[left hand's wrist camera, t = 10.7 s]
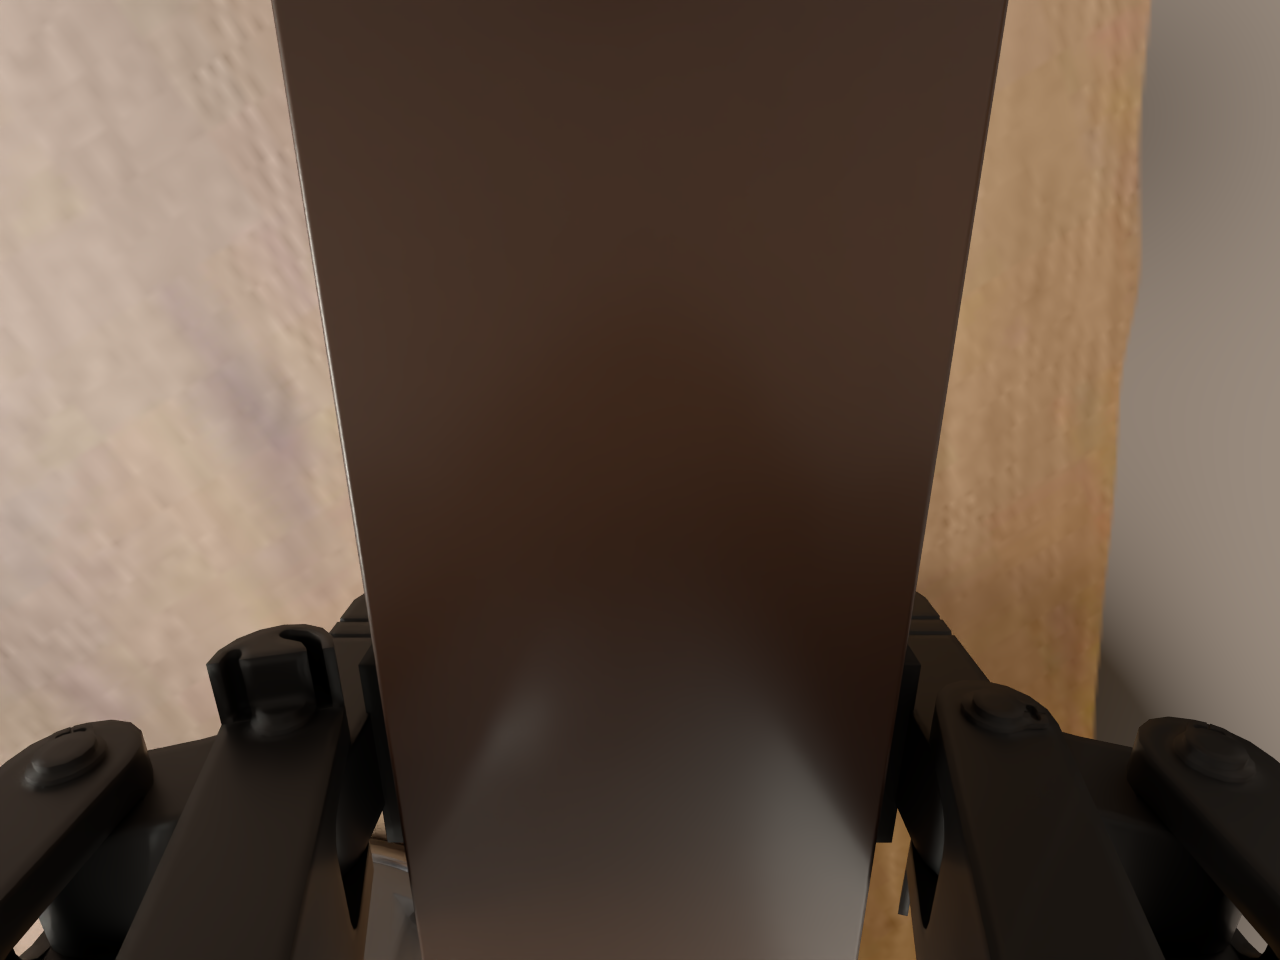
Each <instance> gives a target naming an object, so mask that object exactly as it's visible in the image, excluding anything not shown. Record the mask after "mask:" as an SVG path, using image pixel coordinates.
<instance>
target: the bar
mask: <svg viewBox="0 0 1280 960" xmlns="http://www.w3.org/2000/svg"><path fill="white" fill-rule="evenodd" d="M271 2H272V9H273V15H274V21H275V28H276V34H277V40H278V47H279V53H280V59H281V66H282V72H283V79H284V85H285V91H286V98H287V104H288V110H289V117H290V123H291V129H292V136H293V142H294V149H295V155H296V161H297V168H298V174H299V180H300V187H301V193H302V199H303V206H304V212H305V219H306V225H307V231H308V238H309V244H310V250H311V257H312V263H313V269H314V276H315V282H316V288H317V295H318V301H319V308H320V314H321V320H322V327H323V333H324V339H325V346H326V352H327V358H328V365H329V371H330V378H331V384H332V390H333V397H334V403H335V409H336V416H337V422H338V428H339V435H340V441H341V448H342V454H343V460H344V467H345V473H346V479H347V486H348V492H349V498H350V505H351V511H352V518H353V524H354V530H355V537H356V543H357V549H358V556H359V562H360V568H361V575H362V581H363V588H364V594H365V600H366V607H367V613H368V619H369V626H370V632H371V638H372V645H373V651H374V658H375V664H376V670H377V677H378V683H379V689H380V696H381V702H382V708H383V715H384V721H385V727H386V734H387V740H388V747H389V753H390V759H391V766H392V772H393V778H394V785H395V791H396V797H397V804H398V810H399V817H400V823H401V829H402V836H403V842H404V848H405V855H406V861H407V867H408V874H409V880H410V887H411V893H412V899H413V906H414V912H415V918H416V925H417V931H418V937H419V944H420V950H421V957H422V960H858V954H859V948H860V941H861V935H862V928H863V922H864V916H865V909H866V903H867V897H868V890H869V884H870V878H871V871H872V865H873V858H874V852H875V846H876V839H877V833H878V827H879V820H880V814H881V808H882V801H883V795H884V788H885V782H886V776H887V769H888V763H889V757H890V750H891V744H892V738H893V731H894V725H895V718H896V712H897V706H898V699H899V693H900V687H901V680H902V674H903V668H904V661H905V655H906V648H907V642H908V636H909V629H910V623H911V617H912V610H913V604H914V598H915V591H916V585H917V578H918V572H919V566H920V559H921V553H922V547H923V540H924V534H925V528H926V521H927V515H928V508H929V502H930V496H931V489H932V483H933V477H934V470H935V464H936V458H937V451H938V445H939V438H940V432H941V426H942V419H943V413H944V407H945V400H946V394H947V388H948V381H949V375H950V368H951V362H952V356H953V349H954V343H955V337H956V330H957V324H958V318H959V311H960V305H961V298H962V292H963V286H964V279H965V273H966V267H967V260H968V254H969V248H970V241H971V235H972V228H973V222H974V216H975V209H976V203H977V197H978V190H979V184H980V178H981V171H982V165H983V158H984V152H985V146H986V139H987V133H988V127H989V120H990V114H991V108H992V101H993V95H994V88H995V82H996V76H997V69H998V63H999V57H1000V50H1001V44H1002V38H1003V31H1004V25H1005V18H1006V12H1007V6H1008V0H271Z"/></svg>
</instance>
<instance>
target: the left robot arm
mask: <svg viewBox="0 0 1280 960" xmlns="http://www.w3.org/2000/svg"><path fill="white" fill-rule="evenodd" d="M206 666H207V670H208V674H209V677H210V681H211V685H212V689H213V693H214V697H215V701H216V705H217V708H218V712H219V716H220V720H221V724H222V726H221V728H220V730H219V732H218V734H217V735H216V736H212V737H208V738H205V739H201V740H196V741H191V742H186V743H182V744H177V745H172V746H167V747H163V748H158V749H153V750H148V751H147V748H146V744H145V741H144V738H143V735H142V731H141V730H140V729H138V728H137V727H136V726H135V725H133V724H132V723H131V722H124V721H117V720H106V721H98V722H90V723H85V724H80V725H76V726H74V727H72V728H70V727H69V728H66V729H63V730H61V731H58V732H56V733H54V734H52V735H50V736H48V737H46V738H44V739H42V740H40V741H38V742H36V743H34V744H32V745H30V746H28V747H27V748H26V749H24V750H23V751H21V752H20V753H18V754H17V755H16V756H14V757H13V758H11V759H10V760H8V761H7V762H6V763H5V764H3V765H2V766H1V767H0V960H422V957H421V950H420V944H419V937H418V931H417V925H416V918H415V912H414V906H413V899H412V893H411V887H410V880H409V874H408V867H407V861H406V855H405V848H404V846H403V845H400V844H396V843H404V842H403V836H402V829H401V823H400V817H399V810H398V804H397V797H396V791H395V785H394V778H393V772H392V766H391V759H390V753H389V747H388V740H387V734H386V727H385V721H384V715H383V708H382V702H381V696H380V689H379V683H378V677H377V670H376V664H375V658H374V651H373V645H372V638H371V632H370V626H369V619H368V613H367V607H366V600H365V594H363V595H361V596H360V597H358V598H356V599H355V600H354V601H353V602H352V604H351V605H350V606H349V608H348V609H347V610H346V612H345V613H344V614H343V615H342V617H341V618H340V622H337V623H336V625H335V626H334V627H333V629H332V630H331V631H330V633H328V632H327V631H326V630H324V629H323V628H320V627H316V626H312V625H307V624H295V625H281V626H276V627H271V628H267V629H262V630H259V631H256V632H253V633H251V634H248V635H246V636H243V637H241V638H238V639H236V640H235V641H233V642H231V643H230V644H228V645H227V646H225V647H223V648H222V649H220V650H219V651H218V652H217V653H216V654H215V655H214V656H213V657H212V658H211V659H210V661H209V662H208V663H207V664H206ZM897 808H898V810H899V812H900V815H901V817H902V819H903V821H904V824H905V826H906V828H907V830H908V833H909V835H910V837H911V842H910V847H909V853H908V858H907V864H906V869H905V875H904V880H903V886H902V892H901V897H900V904H899V911H898V914H901V915H905V916H908V910H909V905H910V907H911V916H912V925H913V933H914V942H915V951H916V959H917V960H1280V763H1279V762H1278V761H1277V760H1275V759H1274V758H1273V757H1271V756H1270V755H1268V754H1267V753H1266V752H1264V751H1263V750H1261V749H1260V748H1258V747H1257V746H1255V745H1254V744H1253V743H1251V742H1249V741H1247V740H1245V739H1243V738H1241V737H1239V736H1237V735H1235V734H1233V733H1231V732H1229V731H1227V730H1225V729H1223V728H1221V727H1218V726H1215V725H1212V724H1210V725H1209V724H1207V723H1206V722H1201V721H1197V720H1191V719H1184V718H1176V717H1163V718H1155V719H1149V720H1148V721H1147V722H1146V723H1144V724H1143V725H1142V726H1140V727H1139V730H1138V733H1137V736H1136V739H1135V742H1134V746H1133V748H1132V747H1127V746H1122V745H1118V744H1113V743H1108V742H1103V741H1098V740H1094V739H1089V738H1084V737H1079V736H1075V735H1072V734H1068V733H1064V732H1062V731H1061V729H1060V727H1059V724H1058V723H1057V722H1056V720H1055V719H1054V718H1053V716H1052V715H1051V714H1050V712H1049V711H1048V710H1047V709H1046V708H1045V707H1043V706H1042V705H1041V704H1039V703H1038V702H1037V701H1035V700H1034V699H1032V698H1031V697H1030V696H1028V695H1025V694H1023V693H1021V692H1019V691H1017V690H1014V689H1012V688H1010V687H1008V686H1004V685H1000V684H996V683H992V682H990V681H989V680H988V679H987V677H986V676H985V675H984V673H983V672H982V671H981V669H980V668H979V667H978V665H977V664H976V663H975V662H974V660H973V659H972V658H971V656H970V655H969V654H968V652H967V651H966V650H965V649H964V647H963V646H962V645H961V643H960V642H959V641H958V639H957V638H956V637H955V635H952V634H951V630H950V629H949V628H948V626H947V625H946V624H945V622H944V621H943V620H940V616H939V615H938V613H937V612H936V611H935V609H934V608H933V607H932V605H931V604H930V603H929V601H928V600H927V599H926V598H925V597H924V596H922V595H921V594H919V593H918V592H916V591H915V598H914V604H913V610H912V617H911V623H910V629H909V636H908V642H907V648H906V655H905V661H904V668H903V674H902V680H901V687H900V693H899V699H898V706H897V712H896V718H895V725H894V731H893V738H892V744H891V750H890V757H889V763H888V769H887V776H886V782H885V788H884V795H883V801H882V808H881V814H880V820H879V827H878V833H877V839H876V843H892V837H893V831H894V826H895V820H896V814H897ZM382 810H383V816H384V822H385V828H386V834H387V840H388V841H383V840H378V839H373V838H370V837H371V835H372V833H373V831H374V828H375V826H376V824H377V822H378V819H379V817H380V815H381V812H382ZM1241 915H1243V916H1244V917H1245V918H1246V919H1247V920H1248V922H1249V923H1250V924H1251V925H1252V926H1253V927H1254V929H1255V930H1256V931H1257V932H1258V933H1259V934H1260V936H1261V937H1262V938H1263V939H1264V940H1265V941H1266V943H1267V944H1268V945H1267V948H1266V950H1265V952H1264V953H1263V954H1261V953H1259V952H1258V951H1257V950H1256V949H1255V948H1254V947H1253V946H1252V945H1251V944H1250V943H1249V942H1248V941H1247V940H1246V939H1245V937H1244V936H1243V935H1242V934H1241V933H1240V931H1239V930H1238V929H1237V928H1236V927H1237V925H1238V923H1239V920H1240V918H1241ZM38 918H39V919H40V922H41V924H42V927H43V929H44V931H43V933H42V934H41V935H40V936H39V937H38V939H37V940H36V941H35V942H34V943H33V945H32V946H31V947H30V948H28V949H27V950H26V951H25V952H24V953H23V954H22V955H21V956H17V955H16V954H15V951H14V949H13V947H14V946H15V945H16V944H17V943H18V942H19V940H20V939H21V938H22V937H23V936H24V934H25V933H26V932H27V931H28V930H29V929H30V927H31V926H32V925H33V924H34V923H35V922H36V920H37V919H38Z"/></svg>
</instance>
